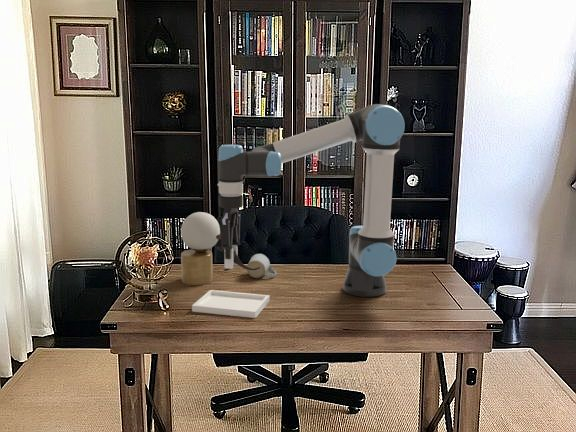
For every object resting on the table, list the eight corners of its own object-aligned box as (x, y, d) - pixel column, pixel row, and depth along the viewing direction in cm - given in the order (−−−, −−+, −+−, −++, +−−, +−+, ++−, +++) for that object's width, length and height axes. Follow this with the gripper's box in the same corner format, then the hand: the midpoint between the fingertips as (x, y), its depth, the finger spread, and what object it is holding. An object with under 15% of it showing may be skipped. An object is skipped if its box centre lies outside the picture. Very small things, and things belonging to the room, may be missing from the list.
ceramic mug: (245, 278, 236) (246, 258, 234) (250, 272, 244) (250, 252, 242) (274, 280, 235) (274, 260, 233) (277, 274, 243) (278, 254, 241)
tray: (269, 301, 212) (269, 295, 212) (255, 318, 197) (255, 311, 197) (210, 295, 217) (210, 289, 217) (192, 311, 202) (191, 305, 202)
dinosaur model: (216, 232, 204) (263, 235, 203) (215, 266, 207) (261, 270, 206) (214, 235, 200) (262, 239, 199) (213, 270, 203) (259, 274, 202)
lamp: (198, 271, 245) (197, 207, 240) (228, 277, 238) (227, 211, 232) (172, 281, 232) (170, 214, 227) (202, 288, 225) (201, 218, 220)
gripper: (228, 189, 208) (228, 258, 213) (209, 198, 193) (210, 272, 197) (250, 190, 206) (250, 260, 211) (233, 199, 191) (233, 274, 196)
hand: (231, 266), depth 204 cm, fingers closed on dinosaur model, 3 cm apart
